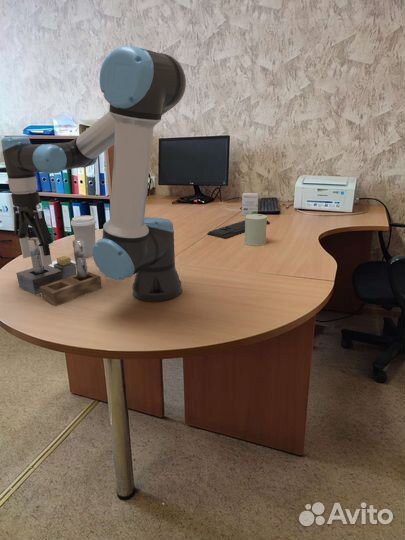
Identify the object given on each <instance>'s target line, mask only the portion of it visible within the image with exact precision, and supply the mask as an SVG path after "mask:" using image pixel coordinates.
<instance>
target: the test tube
mask: <svg viewBox="0 0 405 540" xmlns="http://www.w3.org/2000/svg"><path fill="white" fill-rule="evenodd" d="M72 248H73V255H74V262H75V263H76V265H75V267H76V274H77V276H78V280H79V281H83V280H86V279H88V272H89V271H88V266H87V265H88V263H87V257H86V256H85V248H84V241H83V239H76V240H75V239H73V240H72Z"/></svg>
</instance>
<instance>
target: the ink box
mask: <svg viewBox="0 0 405 540" xmlns="http://www.w3.org/2000/svg"><path fill="white" fill-rule="evenodd" d="M241 196H242V197H241V202H242V203H241V216H243V217H245V216H246V215H249V214H259V213H258V212H259V209H258V208H259V193H255V192H254V193H253V192H252V193H249V192H247V193H246V192H243V193H242V195H241Z"/></svg>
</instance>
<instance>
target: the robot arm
mask: <svg viewBox="0 0 405 540" xmlns="http://www.w3.org/2000/svg"><path fill="white" fill-rule="evenodd" d="M186 85H187V80H186V74H185V71H184V69H183V67H182V65H181V63H180V62H179V61H178V60H176V58H175V57H173V56H172V55H169V54H166V53H163V52H156V51H153V50H149V49H146V48H142V47H139V46H126V45H125V46H124V45H123V46H119V47H116V48H115V49H113V50H112V51H111V52H110V53H109V54H107V56H106V57H105V58H104V61H103V62H102V64H101V67H100V71H99V87H100V91H101V93H103V97H104V99H105V100H106V102H107V103H108V104H109V109H108V111H107V112H106V113H105V114H104V115H103V116H101V117H100V118H99V119H97V120H96V121H95V122H94V123H93V124H92V125H90V126H89V127H88V128H87V129H85V130H84V131H83V132H82V133H81V134H79V135H78V136H76V138H74V139H73V140H71V141H69V142H58V143H56V142H55V143H42V144H31V140H30V138H29V137H28V136H24V135H23V136H22V135H21V136H5V137H2V139H1V141H0V143H1V147H2V152H1V153H2V156H3V161H4V164H5V165H4V166H5V169H6V170H5V171H6V175H7V183H8V187H9V191H10V192H11V194H10V195H11V200H12V201H11V203H12V205H13V208H12V209H13V219H14V220H13V222H14V223H13V227H14V228H13V229H14V230H13V231H14V232H13V233H14V235H15V236H16V237H17V238H18V239H19V244H20V250H21V254H22V258H23V259H27V258H31V254H30V249H29V243H28V239H29V238H30V237H29V234H28V230H29V227H31V228H32V230H33V231H34V232H33V233H34V234H35V236H36V237H37V238H38V240H39V242H40V244H39V245H38V246H39V248H40V254H41V259H42V265H43V266H47V265H50V264H52V262H53V260H52V257H51V249H50V245H51V244H53V243H54V242H53V241H54V240H53V237H52V234H51V232H50V230H49V226H48V225H47V221H46V218H45V214H44V213H45V212H44V211H43V210H38V208H37V205H40V203H41V198H40V194H39V191H38V183H37V181H38V179H37V178H36V177H37V175H36V173H42V174H48V175H51V174H59V173H61V172H63V171H67V170H74V169H79V168H81V169H82V168H83V169H84V168H88V167H92V166H93V165H95V164H96V162H97V160H98V158H99V155H101V154H104V152H106V151H107V150H108V149H110V148H111V147H114V148H113V161H112V162H113V163H112V176H111V177H112V180H111V195H110V197H111V198H110V207H109V208H110V210H109V213H110V214H109V219H108V220H107V221H105V222H104V224H103V226H102V227H103V228H102V238H100V239H98V240H97V241H95V242H96V243H95V244H94V246H93V251H92V253H93V256H92V258H93V262H94V263H95V264H94V265H95V266H96V267H97V268H98V269H99V271H100V272H101V273H102V274H103V275H104V276H105V277H107V278H108V279H110V280H114V281H122V280H125V279H128V278H131V277H132V276H133V277H134V279H133V280H134V281H133V283H132V289H131V290H132V295H133V296H134V297H135V298H136V299H138V300H140V301H144V302H150V303H151V302H163V301H164V302H165V301H169V300H172V299H175V298H176V297H178V296H179V295H180V294H181V293H182V291H183V290H182V289H183V288H182V287H183V286H182V285H183V284H182V281H181V280H180V276H179V274H178V272H177V268H176V257H175V254H176V253H175V231H174V223H173V222H172V221H171V220H170V219H168V218H162V217H151V216H149V217H148V216H146V217H145V215H146V206H147V195H148V194H147V193H148V188H149V187H148V184H149V176H150V166H151V157H152V156H151V155H152V147H153V138H154V137H153V136H154V128H155V127H156V125H158V124H159V123H160V122H161V121H162V116H163V115H164V114H166V113H168V112H169V111H170V110H172V109H173V108H174V107H176V105H177V104H179V102H181V100H182V98H183V96H184V94H185V92H186V87H187V86H186ZM134 275H135V276H134Z"/></svg>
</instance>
